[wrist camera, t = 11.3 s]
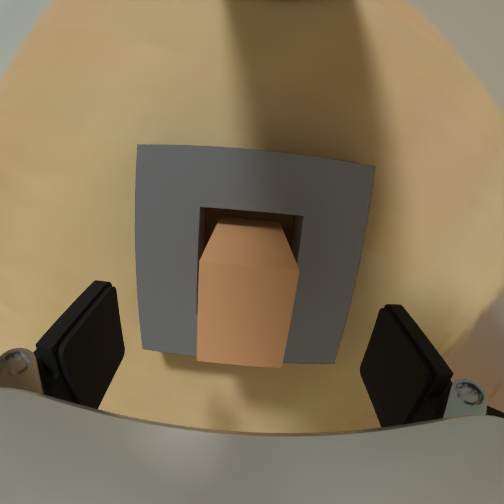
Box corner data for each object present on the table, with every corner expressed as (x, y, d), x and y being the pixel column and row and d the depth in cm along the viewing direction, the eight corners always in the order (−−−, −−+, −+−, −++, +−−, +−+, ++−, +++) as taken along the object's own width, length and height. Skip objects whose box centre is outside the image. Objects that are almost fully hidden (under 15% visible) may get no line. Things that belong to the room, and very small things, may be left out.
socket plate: (152, 145, 19) (137, 144, 16) (358, 164, 20) (375, 166, 17) (153, 327, 23) (142, 349, 20) (325, 341, 24) (334, 363, 21)
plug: (220, 216, 21) (199, 261, 12) (279, 222, 21) (299, 270, 12) (215, 284, 22) (196, 360, 14) (270, 289, 22) (281, 368, 14)
